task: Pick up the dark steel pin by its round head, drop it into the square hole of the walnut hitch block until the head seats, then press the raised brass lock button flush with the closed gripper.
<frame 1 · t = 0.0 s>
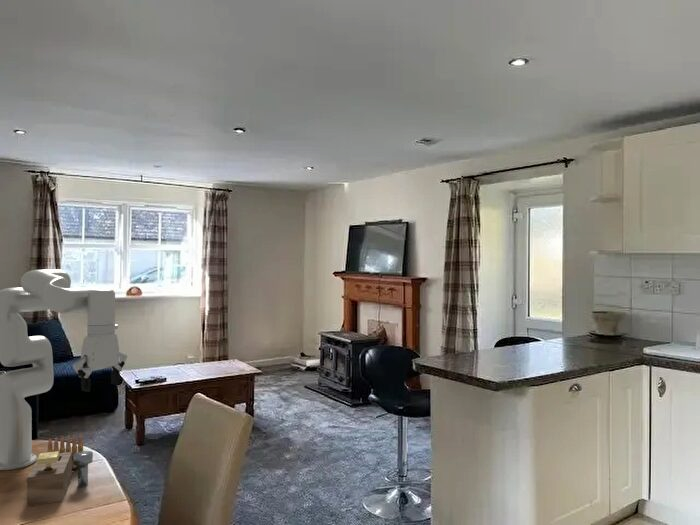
hand: (100, 387, 156), 31 cm above the table, tool pointing down, fingers open, 9 cm apart
ammunition clip: (65, 472, 171), on the table
pin: (82, 485, 161), on the table
hitch block: (50, 490, 157), on the table
lock button: (48, 463, 153), point 10 cm above the table, slide at 2.5 cm
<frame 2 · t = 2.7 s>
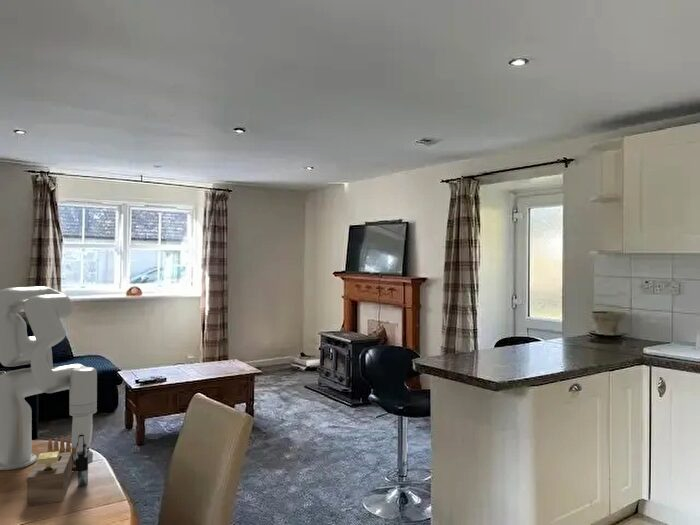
hand: (82, 466, 161), 6 cm above the table, tool pointing down, fingers closed on pin, 5 cm apart
pin: (82, 485, 161), on the table, touching gripper
everything else where it was.
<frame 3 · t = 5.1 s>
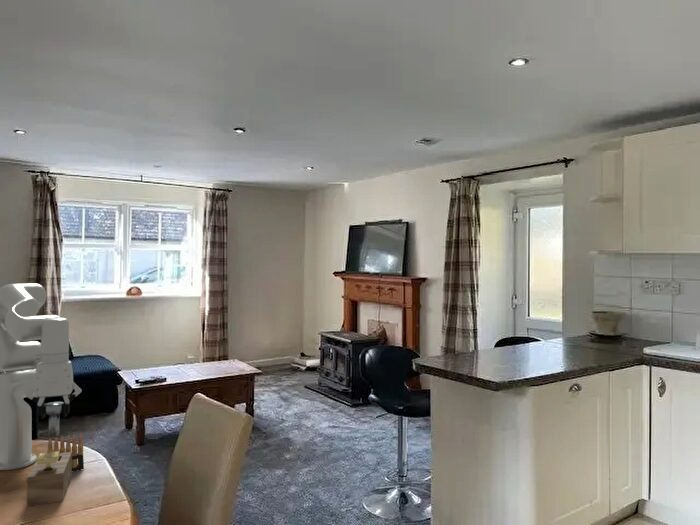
hand: (54, 416, 161), 21 cm above the table, tool pointing down, fingers closed on pin, 5 cm apart
pin: (54, 434, 161), point 15 cm above the table, touching gripper
everything else where it was.
when the fingers open (9 cm above the table, at t = 7.8 s): pin drops 3 cm, resting on hitch block.
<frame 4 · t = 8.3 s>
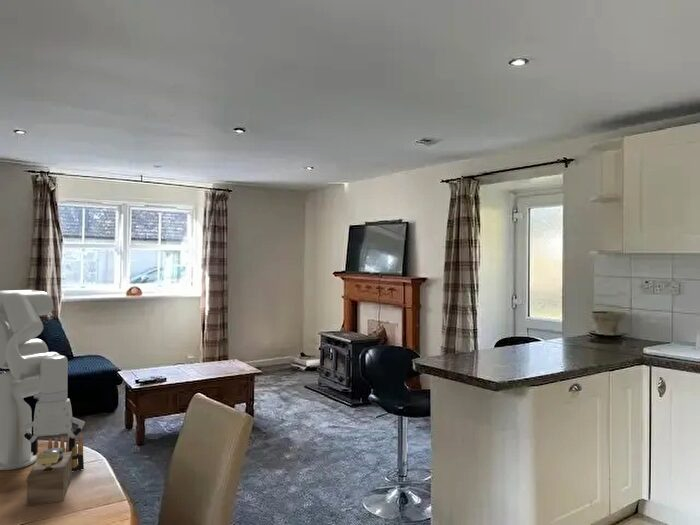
hand: (53, 452, 161), 10 cm above the table, tool pointing down, fingers open, 9 cm apart
pin: (52, 481, 161), point 1 cm above the table, touching hitch block
everything else where it was.
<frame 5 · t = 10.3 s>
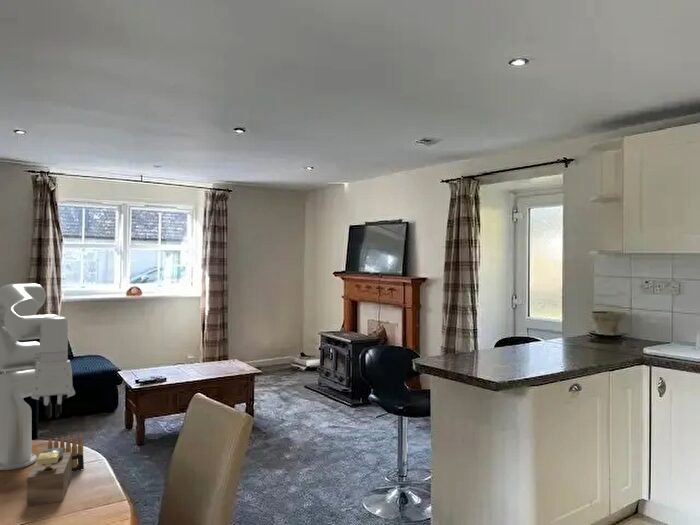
hand: (53, 416, 161), 21 cm above the table, tool pointing down, fingers closed
nothing on the table moved.
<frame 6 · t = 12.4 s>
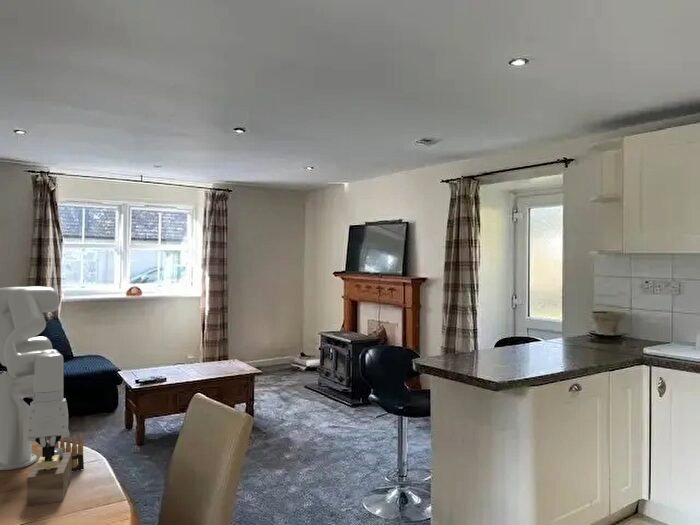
hand: (48, 458, 152), 11 cm above the table, tool pointing down, fingers closed
lock button: (48, 466, 153), point 9 cm above the table, slide at 1.5 cm, touching gripper
everything else where it was.
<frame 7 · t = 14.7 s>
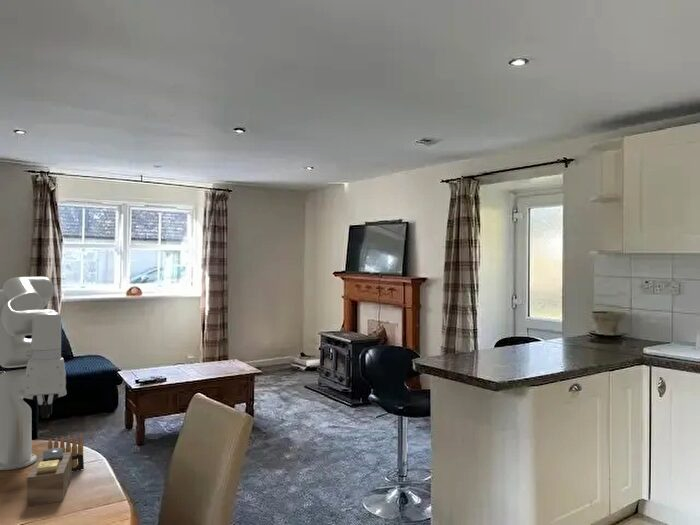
hand: (45, 416, 153), 23 cm above the table, tool pointing down, fingers closed
lock button: (48, 471, 153), point 7 cm above the table, slide at 0.0 cm
everything else where it was.
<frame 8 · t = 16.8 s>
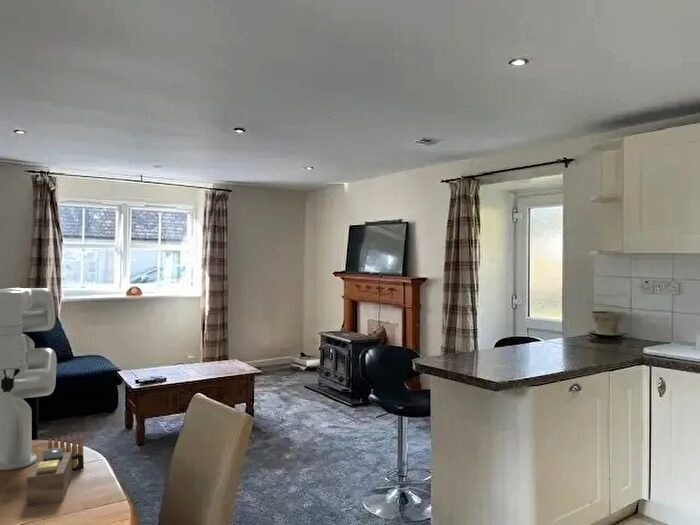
hand: (7, 391, 160), 29 cm above the table, tool pointing down, fingers closed
nothing on the table moved.
at the end: pin 0.1 cm from the target spot on the hitch block, point 1.0 cm above the hitch block's base; pin tilted 0°; lock button slide at 0.0 cm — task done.
